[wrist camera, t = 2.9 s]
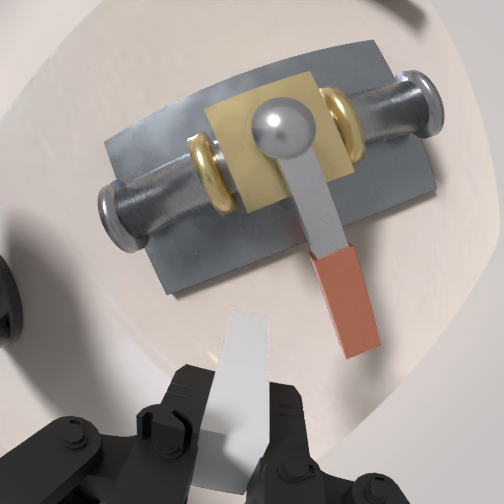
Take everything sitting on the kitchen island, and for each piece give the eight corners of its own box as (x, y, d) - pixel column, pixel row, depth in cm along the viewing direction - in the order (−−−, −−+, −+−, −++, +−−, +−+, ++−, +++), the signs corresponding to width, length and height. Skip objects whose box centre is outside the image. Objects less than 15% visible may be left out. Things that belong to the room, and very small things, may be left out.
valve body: (169, 291, 27) (132, 335, 18) (108, 143, 25) (51, 129, 16) (431, 188, 24) (491, 191, 15) (370, 43, 22) (406, -2, 13)
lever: (243, 119, 15) (241, 109, 13) (296, 100, 15) (300, 88, 13) (331, 345, 18) (338, 362, 16) (376, 326, 17) (387, 341, 15)
